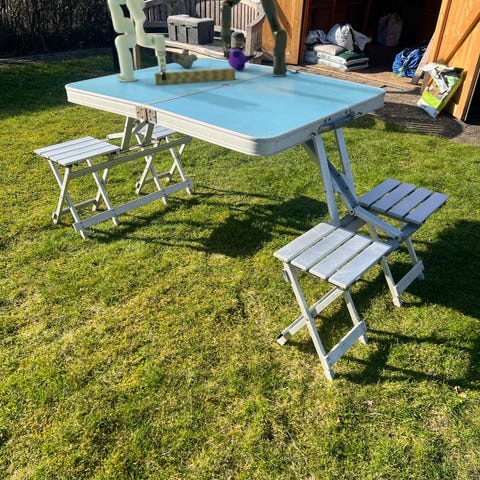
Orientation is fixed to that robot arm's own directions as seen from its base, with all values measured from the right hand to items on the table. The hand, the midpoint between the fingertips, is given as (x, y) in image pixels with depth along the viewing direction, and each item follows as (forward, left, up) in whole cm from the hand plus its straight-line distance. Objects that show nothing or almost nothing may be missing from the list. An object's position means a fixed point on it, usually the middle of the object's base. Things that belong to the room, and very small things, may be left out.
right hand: (226, 58), depth 332 cm
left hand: (+48, 0, -12) cm, 49 cm away
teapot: (+23, -61, -15) cm, 66 cm away
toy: (-19, -35, -15) cm, 42 cm away
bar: (+24, 0, -15) cm, 28 cm away
